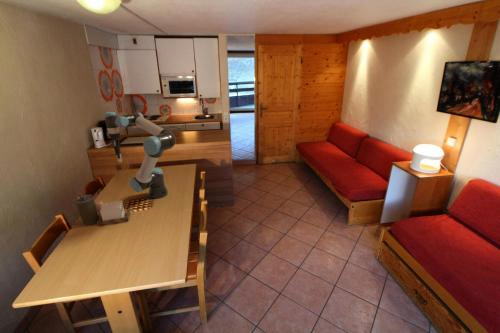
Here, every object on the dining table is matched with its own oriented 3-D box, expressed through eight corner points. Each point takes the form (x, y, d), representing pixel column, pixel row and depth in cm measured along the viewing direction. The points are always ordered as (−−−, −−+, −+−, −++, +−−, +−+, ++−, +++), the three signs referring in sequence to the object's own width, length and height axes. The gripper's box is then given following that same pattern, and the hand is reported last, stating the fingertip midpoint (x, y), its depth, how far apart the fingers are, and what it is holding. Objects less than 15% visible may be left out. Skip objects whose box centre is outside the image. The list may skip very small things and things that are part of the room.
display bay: (130, 211, 185) (129, 207, 184) (128, 221, 173) (127, 217, 171) (102, 215, 180) (101, 211, 179) (98, 226, 167) (97, 222, 166)
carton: (125, 214, 182) (122, 200, 177) (123, 221, 173) (120, 207, 169) (106, 216, 178) (103, 203, 174) (103, 224, 169) (100, 210, 165)
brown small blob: (105, 207, 190) (104, 200, 188) (104, 211, 185) (102, 204, 183) (96, 208, 189) (95, 201, 186) (95, 212, 183) (93, 205, 181)
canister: (91, 226, 168) (84, 200, 160) (78, 224, 170) (70, 198, 162) (103, 217, 178) (96, 192, 170) (90, 215, 180) (83, 190, 172)
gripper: (110, 131, 194) (116, 159, 203) (106, 135, 183) (113, 165, 191) (120, 130, 196) (126, 158, 205) (118, 134, 185) (124, 164, 194)
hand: (120, 161), depth 198 cm, fingers closed
